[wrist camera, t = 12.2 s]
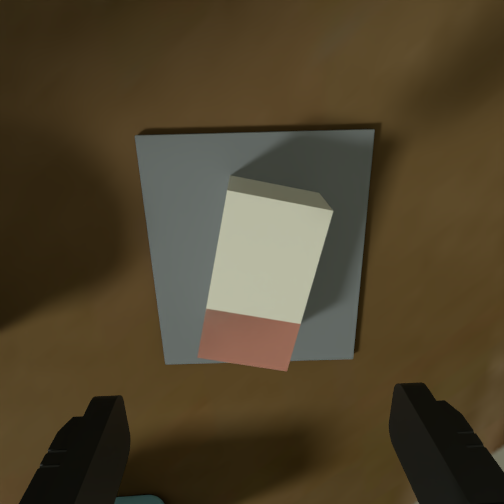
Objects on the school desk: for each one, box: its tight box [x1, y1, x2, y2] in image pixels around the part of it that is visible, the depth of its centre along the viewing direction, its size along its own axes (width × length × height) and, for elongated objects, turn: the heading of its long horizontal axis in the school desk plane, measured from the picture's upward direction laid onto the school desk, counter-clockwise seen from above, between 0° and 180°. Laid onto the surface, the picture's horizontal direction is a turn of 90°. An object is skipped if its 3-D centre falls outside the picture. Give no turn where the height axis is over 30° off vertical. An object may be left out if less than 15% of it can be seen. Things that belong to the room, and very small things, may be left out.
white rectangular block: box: [197, 175, 333, 371], centre depth 20 cm, size 9×5×4 cm, turn 169°
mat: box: [135, 129, 375, 364], centre depth 22 cm, size 12×14×1 cm
